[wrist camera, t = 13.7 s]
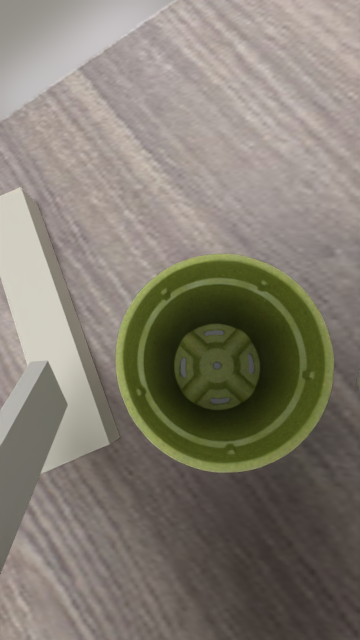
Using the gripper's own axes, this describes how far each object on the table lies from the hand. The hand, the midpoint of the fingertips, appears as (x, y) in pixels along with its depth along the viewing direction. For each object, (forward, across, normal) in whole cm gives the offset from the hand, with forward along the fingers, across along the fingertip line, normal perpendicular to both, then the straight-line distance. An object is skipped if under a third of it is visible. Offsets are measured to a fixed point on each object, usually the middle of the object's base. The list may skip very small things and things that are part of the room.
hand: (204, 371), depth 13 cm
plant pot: (+7, +1, -6) cm, 9 cm away
